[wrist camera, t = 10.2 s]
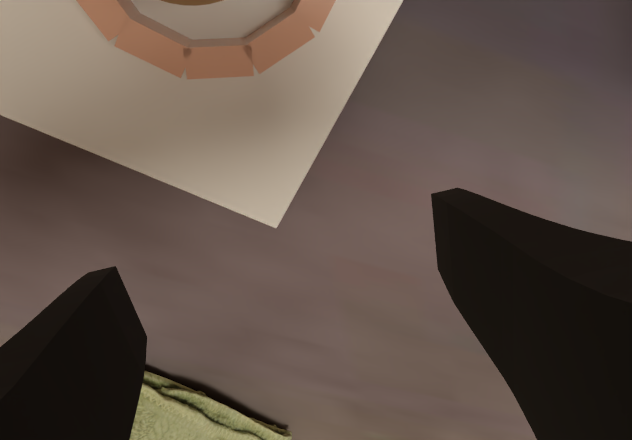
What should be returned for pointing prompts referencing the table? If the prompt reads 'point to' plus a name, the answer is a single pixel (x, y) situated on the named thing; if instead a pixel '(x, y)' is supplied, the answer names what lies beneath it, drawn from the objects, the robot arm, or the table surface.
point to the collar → (207, 54)
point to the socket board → (189, 95)
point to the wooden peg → (191, 2)
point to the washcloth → (192, 416)
